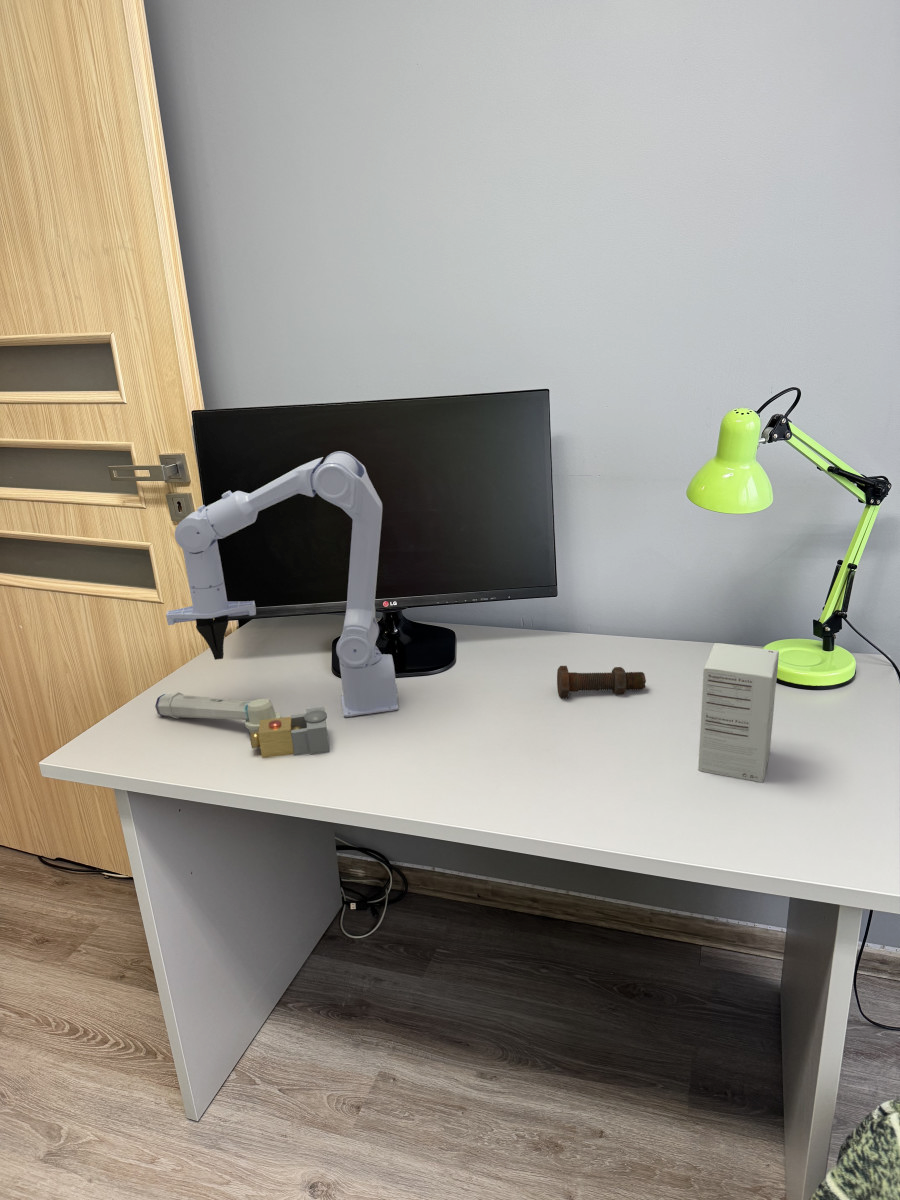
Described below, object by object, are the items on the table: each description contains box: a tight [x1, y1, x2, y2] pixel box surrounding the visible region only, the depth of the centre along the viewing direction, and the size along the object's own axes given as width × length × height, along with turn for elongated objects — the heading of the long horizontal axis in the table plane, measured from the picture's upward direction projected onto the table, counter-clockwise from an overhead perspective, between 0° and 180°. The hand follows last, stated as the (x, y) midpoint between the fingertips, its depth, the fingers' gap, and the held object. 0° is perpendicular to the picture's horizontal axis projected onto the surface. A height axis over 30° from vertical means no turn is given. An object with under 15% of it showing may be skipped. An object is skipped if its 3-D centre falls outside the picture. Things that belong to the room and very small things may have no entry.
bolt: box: [556, 665, 647, 699], centre depth 146 cm, size 6×5×15 cm
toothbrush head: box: [154, 692, 283, 733], centre depth 142 cm, size 5×7×25 cm
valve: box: [249, 716, 302, 759], centre depth 133 cm, size 8×4×5 cm, turn 99°
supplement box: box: [697, 642, 780, 783], centre depth 120 cm, size 10×9×17 cm
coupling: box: [290, 706, 330, 756], centre depth 134 cm, size 6×7×5 cm
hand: (219, 657), depth 144 cm, fingers closed
